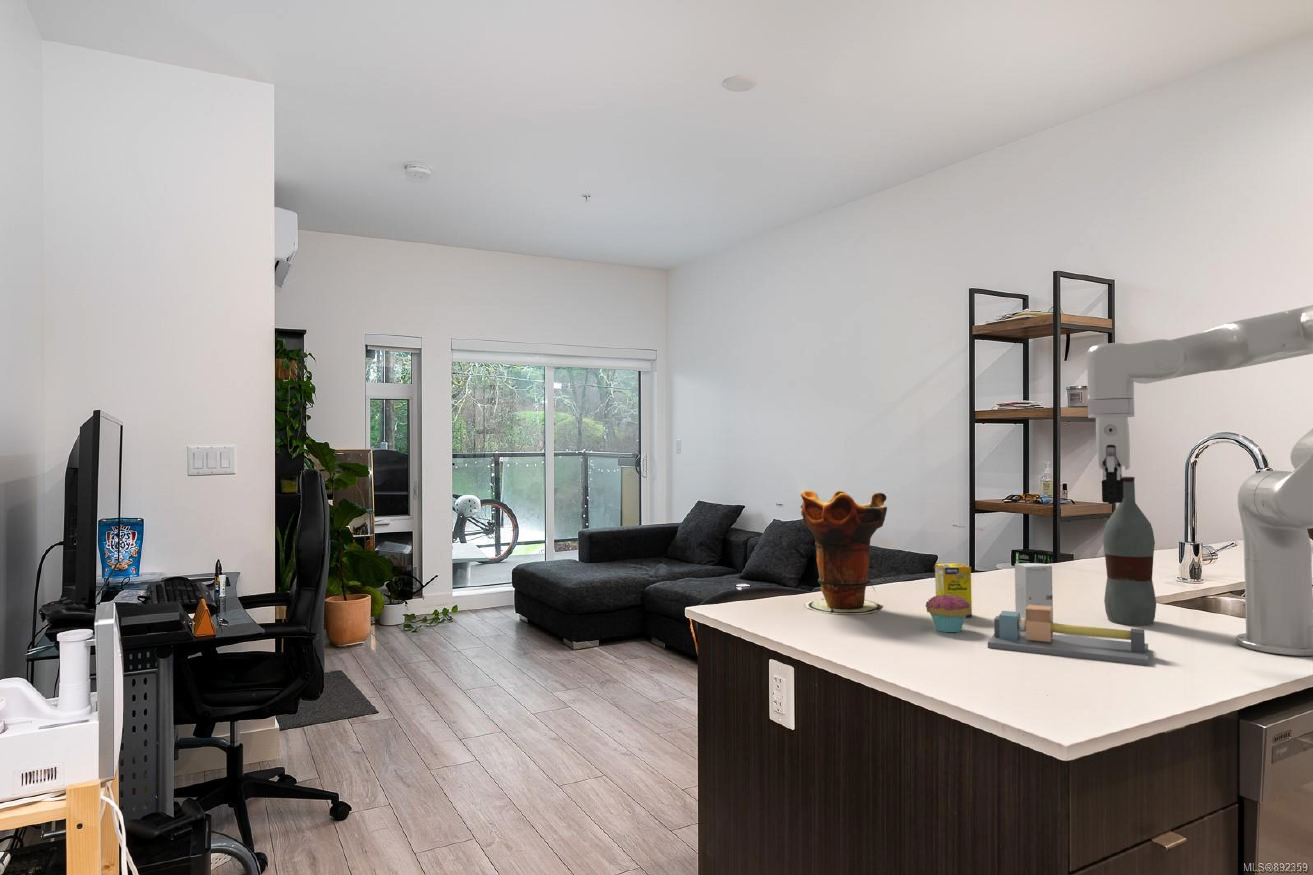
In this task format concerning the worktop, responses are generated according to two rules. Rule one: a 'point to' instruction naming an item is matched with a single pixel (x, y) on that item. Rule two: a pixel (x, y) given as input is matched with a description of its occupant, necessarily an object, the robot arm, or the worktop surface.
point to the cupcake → (948, 610)
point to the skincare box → (1032, 586)
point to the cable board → (1071, 641)
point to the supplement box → (955, 581)
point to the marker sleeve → (1039, 622)
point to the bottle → (1129, 563)
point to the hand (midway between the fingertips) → (1113, 500)
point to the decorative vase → (843, 549)
